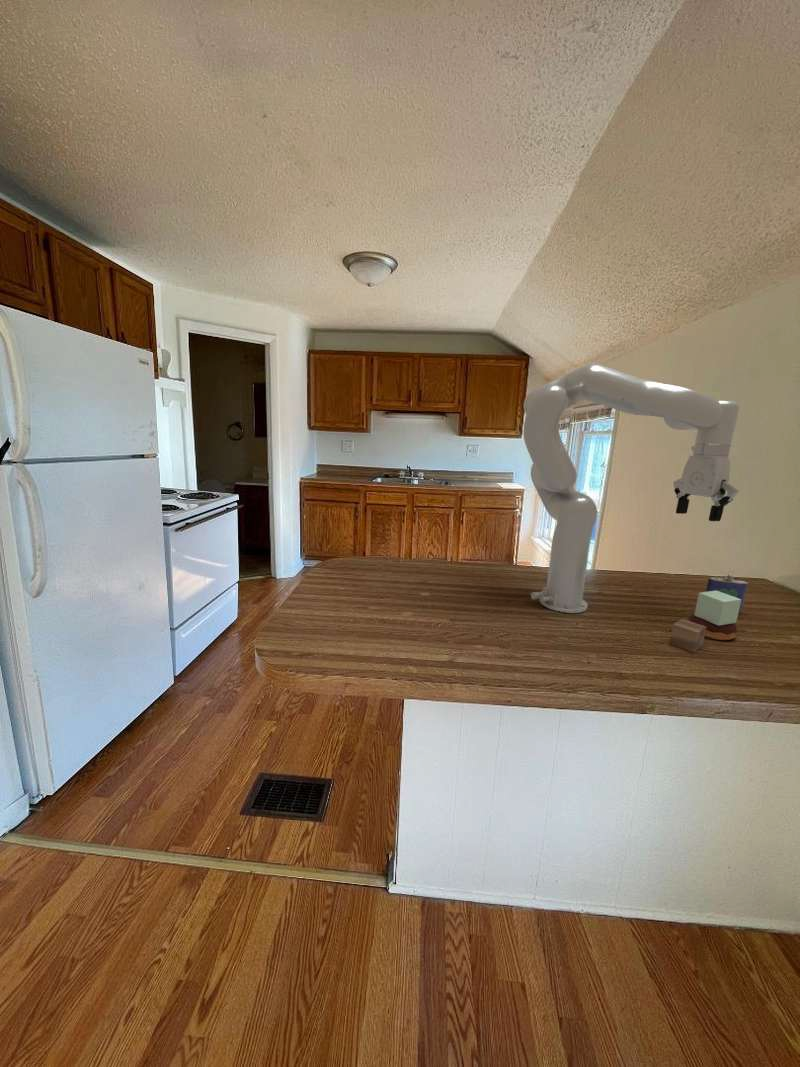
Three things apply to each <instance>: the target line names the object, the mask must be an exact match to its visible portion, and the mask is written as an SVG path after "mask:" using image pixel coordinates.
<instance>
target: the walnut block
mask: <svg viewBox="0 0 800 1067" xmlns="http://www.w3.org/2000/svg"><path fill="white" fill-rule="evenodd" d="M705 631H706V626H703V625H699V624H696V623H693V622H690V621H689V620H686V619H683V618H681V619H680V620H678V621H676V622H674V623H673V624H672V630H671V634H670V639H669V644H670V645H672V646H674V647H677V648H680V649H683V650H686V651H688V652H691V653H696V652H698V650H699V649H701V648H702V647H703V644H704V639H705V637H704V636H705Z"/></svg>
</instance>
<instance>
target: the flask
mask: <svg viewBox="0 0 800 1067" xmlns="http://www.w3.org/2000/svg"><path fill="white" fill-rule="evenodd" d="M734 578H735V576H734V575H733V574H731V573H730V574H727V576H726V577H721V576H720V577H718V576H715V577H709V578H708V580H707V585H706V591H705V592H709V591H719V592H722V593H725V594H728V595H730V596H733V597H736V598H739V599H742V600H741V604H740V608H739V612H738V615H739V614H740V613H742V612H743V606H744V603H745V598H746V593H747V591H748V590H747V589H748V585H749V583H748V582H746V581H743V580H735V579H734Z"/></svg>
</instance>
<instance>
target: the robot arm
mask: <svg viewBox="0 0 800 1067" xmlns="http://www.w3.org/2000/svg"><path fill="white" fill-rule="evenodd" d="M584 401H588V402H592V403H596V404H599V405H602V406H605V407H608V408H610V409H614V410H616V411H619V412H622V413H625V414H628V415H634V416H646V417H647V416H649V417H656V418H657V417H658V418H663V421H664V423H665V425H666V426H668V427H669V428H671V429H673V430H679V431H686V430H687V431H689V430H691V431H692V430H697V432H696V438H695V443H694V445H692V446H691V451H692V452H693V453H692V455H688V459H687V461H686V462H685V465H684V468H683V471H682V474H681V477H680V478H679V479H676V480H674V481H673V482H672V483H673V488H674V493H675V495H676V499H677V504H676V510H675V513H676V514H677V515H679V514H680V515H683V514H685V515H686V514H687V513H688V509H689V504H690V497H691V496H693V495H694V496H698V497H699V496H700V497H705V498H711V501H712V502H713V504H714V505H713V504H712V505H711V507H710V510H709V516H708V521H709V522H721V520H722V516H723V512H724V508H725V507H726V506H728V504H730V503H731V502H732V501H733V500H734V498H735V497H736V496H737V495H738V493H739V489H737V488H736V487H735V486H733V485H732V484H730V483H729V481H730V473H731V458H729V456H730V451H731V447H732V446H731V445H732V443H733V442H732V441H733V436H734V433H735V429H736V424H737V420H738V417H739V416H738V415H739V410H740V404H739V403H738V402H737V401H735V400H718V399H716V398H715V397H713V396H711V395H708V394H705V393H702V392H699V391H696V390H694V389H691V388H687V387H682V386H678V385H673V384H667V383H663V382H659V381H653V380H648V379H644V378H642V377H640V376H639V377H638V376H635V375H632V374H630V373H627V372H624V371H621V370H618V369H614V368H611V367H609V366H606V365H603V364H598V363H590V364H586V365H584V366H582V367H577V368H575V369H574V370H571V371H569V372H568V373H566V374H564V375H562V376H560V377H558V378H556V379H553V380H552V381H549V382H547V383H545V384H543V385H541V386H539V387H537V388H534V389H533V390H531V391H530V392H529V393H528V394H527V395H526V396H525V398H524V402H523V411H524V413H525V419H524V422H523V431H522V432H523V433H522V434H523V440H524V444H525V447H526V449H527V452H528V454H529V457H530V459H531V461H532V465H531V468H530V478H531V481H532V484H533V486H534V488H535V490H536V492H537V494H538V496H539V498H540V501H541V502H542V505H543V506H544V508H545V510H546V511H547V513H548V515H549V516H550V517H551V518H552V519H553V520H555V521H557V522H556V526H555V528H554V532H553V534H552V540H551V548H550V556H549V557H550V558H549V566H548V574H547V582H546V586H544V587H543V588H542V590H540V591H533V592H531V593H530V598H531V599H532V600H539V601H538V602H539V603H540V604H541V605H542V606H544V607H546V608H547V609H550V610H551V611H556V612H559V611H560V613H564V612H565V614H579V613H584V612H585V611H587V609H588V603H587V601H586V600H585V599H584V598H583V597H584V596H583V595H584V588H585V581H586V575H587V568H588V567H587V566H588V562H589V561H588V560H589V555H590V554H589V551H590V545H591V540H592V539H591V538H592V535H593V532H594V529H595V525H596V523H597V518H598V508H597V505H596V503H595V501H594V500H593V499H592V498H591V497H590V496H589V495H587V494H585V493H583V492H580V491H577V490H575V488H574V485H575V484H576V481H577V478H578V475H577V470H576V467H575V465H574V463H573V462H572V459H571V457H570V456H569V454H568V451H567V449H566V447H565V445H564V442H563V440H562V437H561V435H560V434H561V433H560V429H559V426H560V421H561V418H562V417H563V415H564V413H565V411H566V410H567V409H568V408H571V407H572V406H575V405H577V404H579V403H581V402H584Z"/></svg>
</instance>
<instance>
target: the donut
mask: <svg viewBox="0 0 800 1067" xmlns="http://www.w3.org/2000/svg"><path fill="white" fill-rule="evenodd" d="M687 618H688V621H690V622H693V623H696V624H699V625H703V626H706V631H705V636H704V638H709V639H711V640H717V641H729V640H732V639H735V638H736V637H737V633H738V631H737V630H738V628H737V625H736V623H731V624H726V625H720V626H718V625H716V624H713V623H711V622H709V621H706V620H704V619H702V618H699V617H697V616H695V613H693V614H691V615H690V616H688V617H687Z"/></svg>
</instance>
